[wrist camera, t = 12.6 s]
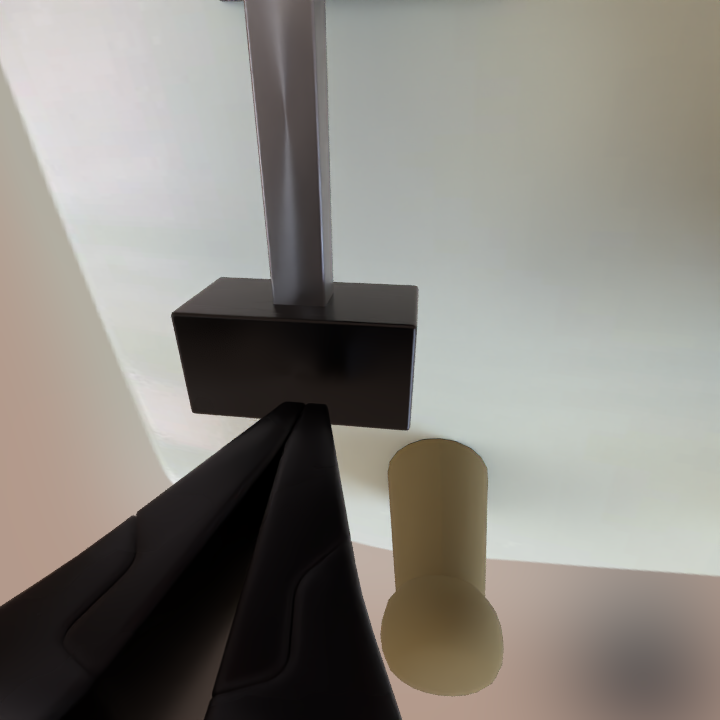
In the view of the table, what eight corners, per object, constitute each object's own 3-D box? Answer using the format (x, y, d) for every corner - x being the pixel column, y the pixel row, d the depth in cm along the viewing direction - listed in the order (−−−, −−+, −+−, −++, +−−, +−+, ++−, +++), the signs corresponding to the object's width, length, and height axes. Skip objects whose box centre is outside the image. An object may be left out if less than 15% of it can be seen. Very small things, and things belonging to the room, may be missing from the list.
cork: (463, 519, 28) (480, 727, 19) (375, 492, 28) (350, 690, 19) (505, 456, 25) (550, 672, 16) (406, 426, 25) (393, 627, 16)
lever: (412, 375, 12) (409, 432, 10) (232, 363, 13) (190, 414, 10) (471, -488, 6) (501, -880, 4) (110, -430, 6) (-62, -738, 4)
